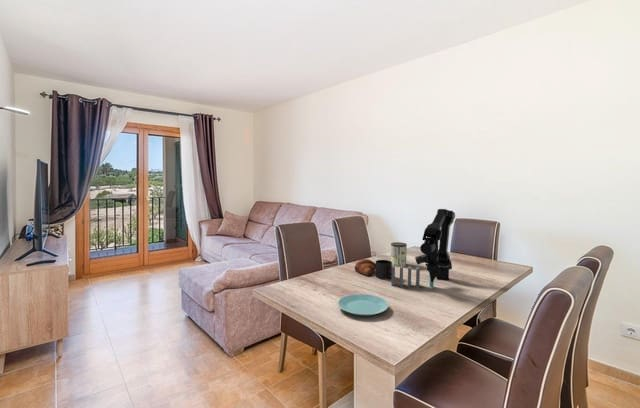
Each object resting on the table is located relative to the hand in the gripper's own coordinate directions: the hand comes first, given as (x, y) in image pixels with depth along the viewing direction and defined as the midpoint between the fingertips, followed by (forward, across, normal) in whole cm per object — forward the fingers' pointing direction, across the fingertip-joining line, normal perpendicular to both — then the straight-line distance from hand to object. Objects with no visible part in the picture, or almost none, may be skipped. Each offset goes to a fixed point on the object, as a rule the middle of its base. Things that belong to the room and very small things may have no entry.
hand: (431, 280), depth 161 cm
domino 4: (+4, 0, -7) cm, 8 cm away
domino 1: (+4, 0, -20) cm, 20 cm away
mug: (+4, -11, -24) cm, 27 cm away
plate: (+4, +36, -32) cm, 48 cm away
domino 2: (+4, 0, -15) cm, 16 cm away
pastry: (+4, -21, -37) cm, 43 cm away
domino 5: (+3, 0, 0) cm, 3 cm away
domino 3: (+4, 0, -11) cm, 12 cm away
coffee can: (+4, -42, -18) cm, 46 cm away
